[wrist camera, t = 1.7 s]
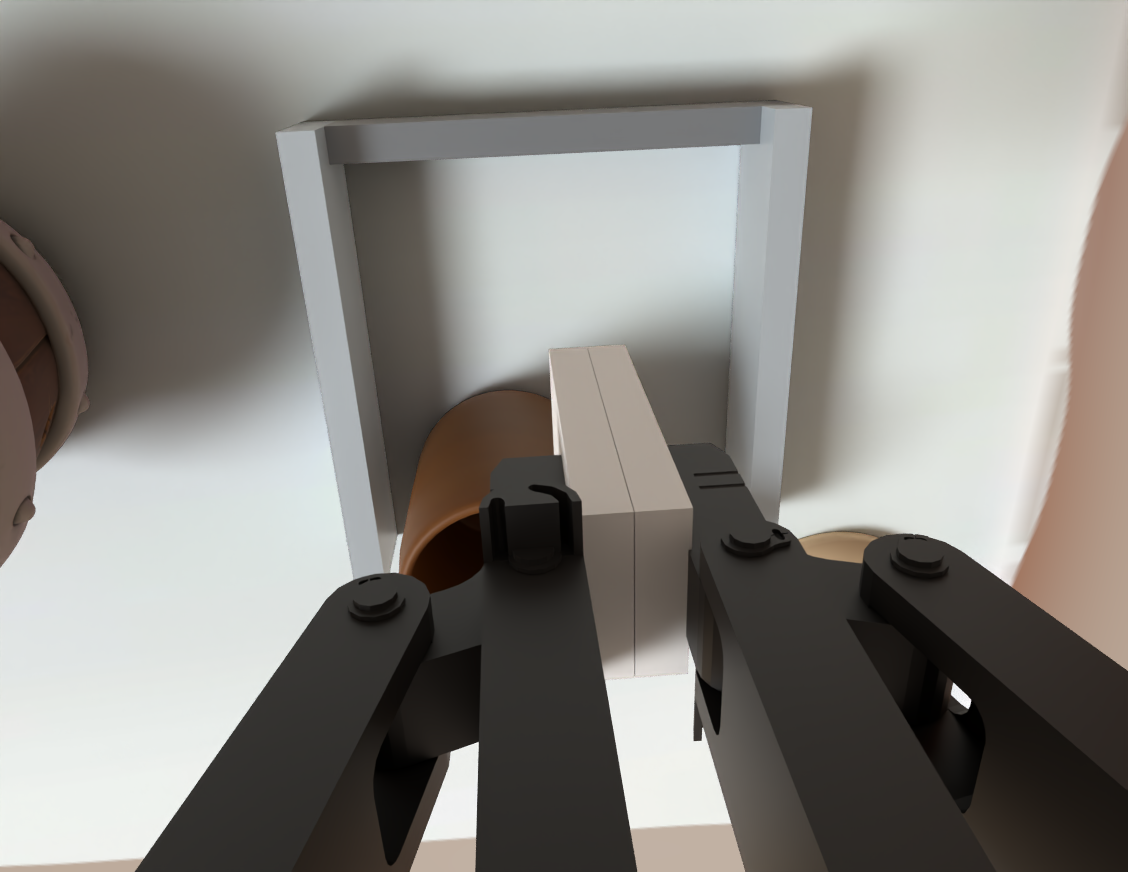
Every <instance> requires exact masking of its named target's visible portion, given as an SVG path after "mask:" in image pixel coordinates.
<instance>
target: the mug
mask: <svg viewBox="0 0 1128 872" xmlns="http://www.w3.org/2000/svg"><path fill="white" fill-rule="evenodd" d="M548 455H554V445H553V424H552V404H551V400H549V399H547V398H545V397H543V396H540V395H537V394H534V393H529V392H524V391H514V390H503V391H494V392H487V393H484V394H480V395H477V396H474V397H472V398H470V399H467V400H465V401H463V402H462V403H460V404H458V405H457V406H455V407H454V408H452V409H451V410H450V411H449V412H447V413H446V414H445V415H444V416H443V417H442V418H441V419H440V420H439V421H438V423H437V424H436V425H435V427H434V428H433V429H432V431H431V432H430V434H429V436H428V437H427V439H426V441H425V443H424V446H423V449H422V452H421V455H420V458H419V462H418V467H417V472H416V476H415V480H414V484H413V489H412V493H411V498H410V503H409V508H408V513H407V518H406V523H405V528H404V533H403V538H402V543H401V548H400V560H399V574H404V575H409V576H413V577H414V578H416V579H418V580H419V581H421V582H423V583H424V584H425V585H426V587H427V589H428V591H429V593H430V594H432V593H435V592H439V591H442V590H446V589H449V588H451V587H454V586H457V585H460V584H461V583H463V582H465V581H467V580H469V579H470V578H472V577H473V576H474V575H476V574H477V573H478V572H479V571H480V570H481V569H482V567H483V566H484V559H483V549H482V538H481V528H480V517H479V506H480V504H481V501H482V499H483V498H484V497H485V496H486V495H487V494H489V493H490V473H491V472H492V471H493V470H494V468H495V467H496V466H497V465H498V464H499V463H500V461H501V460H502V459H503V458H518V457H533V456H548Z"/></svg>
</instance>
